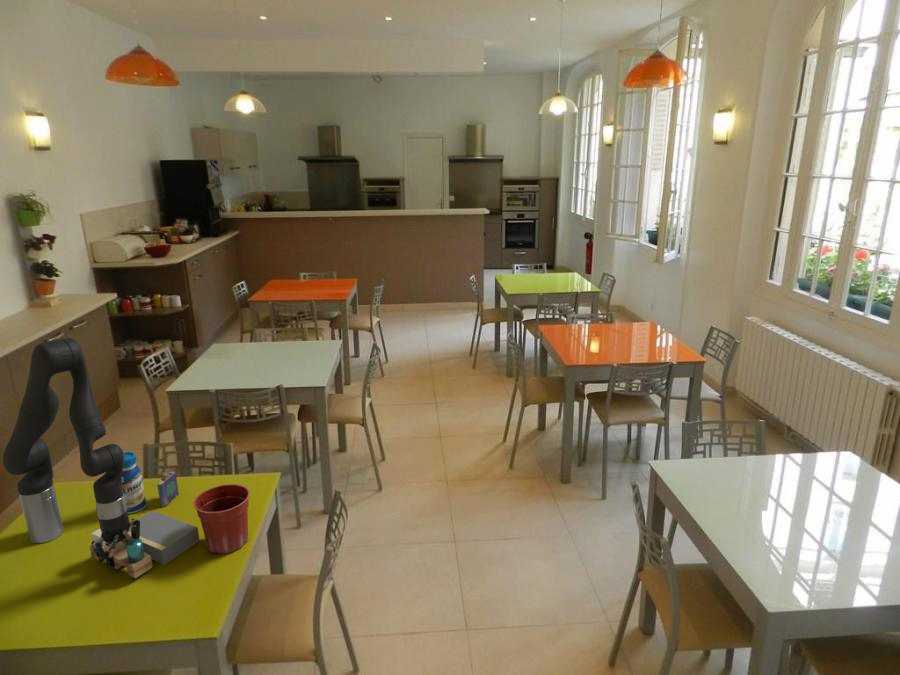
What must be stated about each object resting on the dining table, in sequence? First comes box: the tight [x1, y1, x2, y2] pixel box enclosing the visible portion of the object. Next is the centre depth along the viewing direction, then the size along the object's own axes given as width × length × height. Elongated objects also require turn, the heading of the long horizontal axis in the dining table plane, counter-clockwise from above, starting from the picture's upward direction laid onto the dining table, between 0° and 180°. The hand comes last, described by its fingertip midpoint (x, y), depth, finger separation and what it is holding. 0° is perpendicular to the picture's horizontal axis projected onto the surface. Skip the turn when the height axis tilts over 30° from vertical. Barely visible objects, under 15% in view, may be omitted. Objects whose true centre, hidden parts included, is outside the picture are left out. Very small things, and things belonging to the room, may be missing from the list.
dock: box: [120, 510, 200, 565], centre depth 189 cm, size 21×13×5 cm, turn 63°
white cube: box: [90, 528, 105, 548], centre depth 181 cm, size 4×4×4 cm
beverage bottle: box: [121, 451, 147, 515], centre depth 207 cm, size 8×8×20 cm
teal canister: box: [126, 539, 144, 563], centre depth 174 cm, size 4×4×5 cm
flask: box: [156, 471, 180, 508], centre depth 213 cm, size 9×3×11 cm, turn 172°
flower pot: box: [192, 483, 251, 555], centre depth 188 cm, size 16×16×16 cm
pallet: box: [89, 542, 153, 579], centre depth 178 cm, size 20×6×4 cm, turn 62°
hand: (121, 560), depth 179 cm, fingers closed on pallet, 5 cm apart
